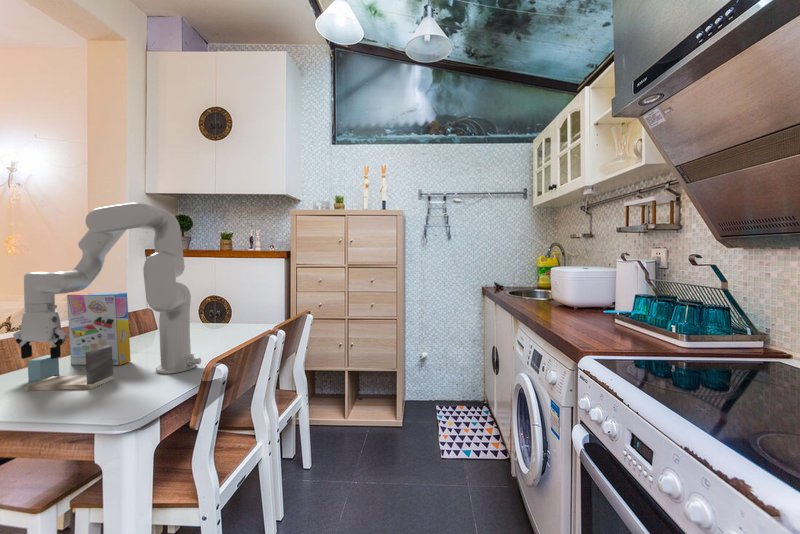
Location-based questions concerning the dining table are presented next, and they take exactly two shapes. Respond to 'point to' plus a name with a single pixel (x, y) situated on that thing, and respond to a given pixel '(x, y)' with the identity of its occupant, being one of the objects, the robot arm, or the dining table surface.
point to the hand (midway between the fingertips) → (41, 357)
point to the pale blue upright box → (42, 368)
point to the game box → (98, 325)
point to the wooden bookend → (97, 374)
